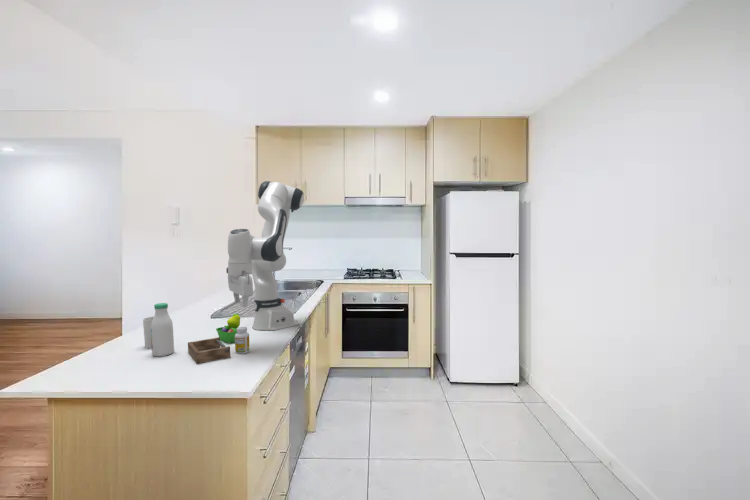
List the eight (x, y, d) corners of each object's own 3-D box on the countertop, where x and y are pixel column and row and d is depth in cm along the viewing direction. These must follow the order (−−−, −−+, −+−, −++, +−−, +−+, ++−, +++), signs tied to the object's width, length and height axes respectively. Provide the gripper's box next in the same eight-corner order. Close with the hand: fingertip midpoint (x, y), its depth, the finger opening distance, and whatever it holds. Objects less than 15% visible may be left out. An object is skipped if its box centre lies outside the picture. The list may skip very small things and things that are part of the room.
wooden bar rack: (219, 346, 163) (218, 336, 163) (230, 357, 149) (230, 347, 149) (187, 351, 156) (187, 342, 156) (197, 364, 142) (196, 353, 142)
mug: (157, 348, 161) (156, 319, 160) (140, 348, 161) (139, 320, 160) (169, 341, 171) (168, 314, 171) (154, 341, 171) (152, 314, 170)
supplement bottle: (244, 348, 160) (244, 325, 159) (252, 351, 156) (251, 327, 156) (232, 352, 156) (231, 328, 155) (240, 355, 152) (239, 330, 151)
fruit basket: (215, 339, 173) (214, 314, 173) (234, 335, 180) (233, 311, 179) (227, 344, 166) (226, 318, 165) (246, 340, 172) (246, 314, 171)
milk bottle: (178, 351, 157) (176, 302, 156) (162, 357, 150) (160, 306, 148) (163, 349, 160) (161, 301, 158) (147, 355, 152) (144, 305, 151)
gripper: (257, 271, 147) (257, 308, 148) (240, 267, 164) (241, 300, 165) (240, 273, 144) (240, 310, 144) (225, 268, 160) (225, 301, 161)
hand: (240, 304), depth 155 cm, fingers open, 8 cm apart
